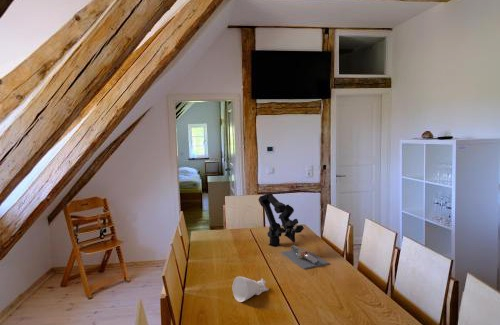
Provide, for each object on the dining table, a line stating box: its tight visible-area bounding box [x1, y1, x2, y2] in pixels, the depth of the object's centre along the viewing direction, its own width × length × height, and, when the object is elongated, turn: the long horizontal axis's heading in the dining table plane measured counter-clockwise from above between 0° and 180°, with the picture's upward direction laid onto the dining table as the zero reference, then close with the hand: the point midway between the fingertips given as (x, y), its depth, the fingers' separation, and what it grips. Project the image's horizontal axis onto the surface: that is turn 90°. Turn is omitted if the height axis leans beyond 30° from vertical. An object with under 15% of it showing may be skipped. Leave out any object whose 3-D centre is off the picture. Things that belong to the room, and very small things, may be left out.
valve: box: [291, 244, 319, 265], centre depth 205 cm, size 26×6×5 cm, turn 23°
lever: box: [296, 251, 308, 257], centre depth 199 cm, size 2×3×12 cm
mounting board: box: [280, 247, 330, 270], centre depth 205 cm, size 28×18×1 cm, turn 23°
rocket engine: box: [231, 276, 269, 303], centre depth 161 cm, size 12×12×18 cm
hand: (294, 242), depth 206 cm, fingers closed
